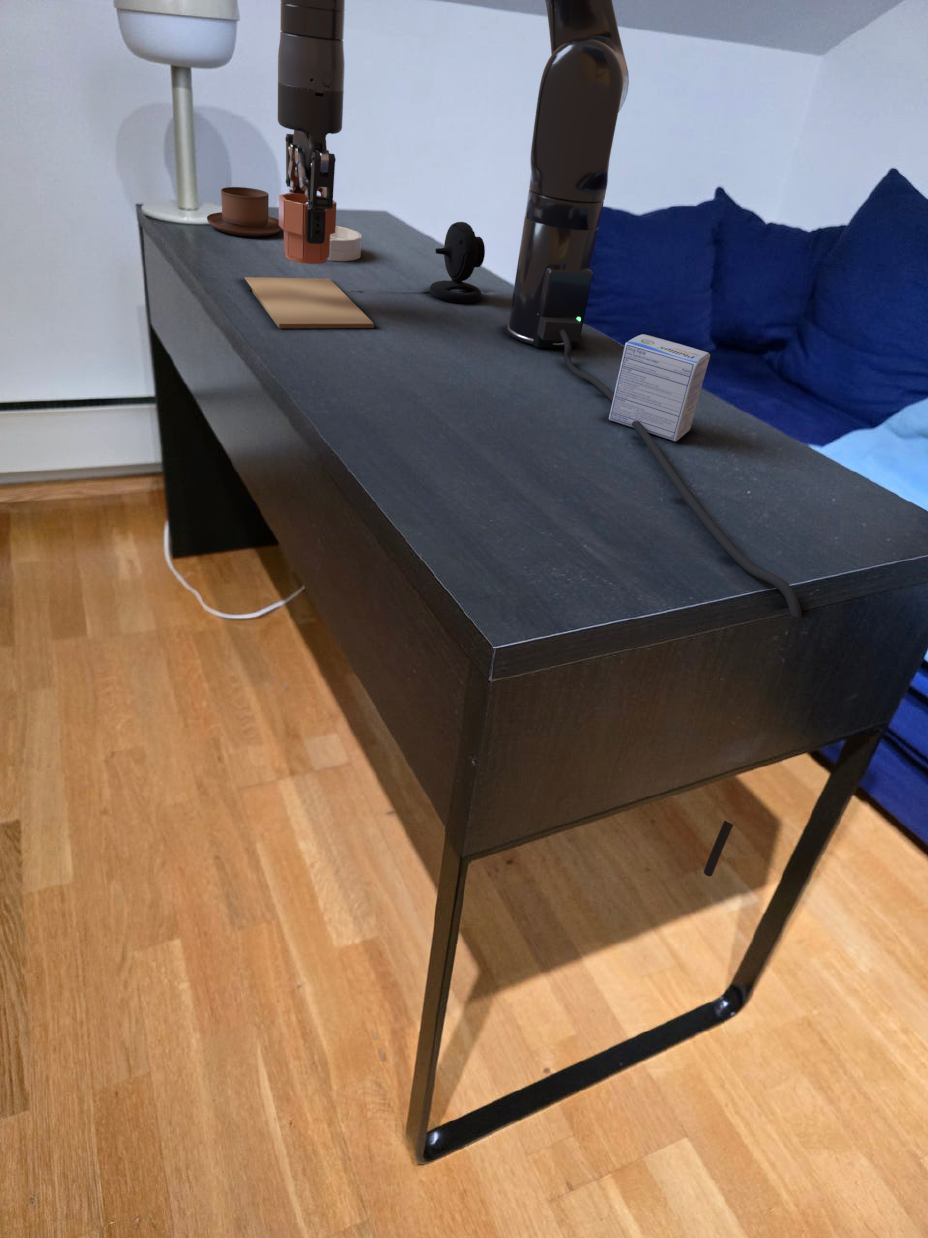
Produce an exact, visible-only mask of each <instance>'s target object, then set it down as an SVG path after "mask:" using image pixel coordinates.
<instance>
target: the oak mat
mask: <svg viewBox="0 0 928 1238" xmlns="http://www.w3.org/2000/svg"><path fill="white" fill-rule="evenodd" d="M244 279H245V281H246V282H247V284H248V285H249V286H250V291H251V292H252V294H253V295H254V296H255V297H256V299H257V301H259V304H260V305H261V306H262V307H263V309H264V310H265V311H266V313H267V314H268V316H270V318H271V319H272V320H273V322H274V324H275V325H276V326H277V327H278V329H281V330H282V329H374V328H375V323H374V322H373V321H372V320H371V318H369V317H368V316H367V315H366V314H365V312H363V311H362V309H361V308H359V306H357V305H356V304H355V302H353V301H352V300H351V298H350V297H349V296H347V295H346V293H345V292H344V291H342V290H341V289H340V287H339V286H337V284H336V283H334V281H332V279H331V278H323V277H322V278H320V277H319V278H317V277H316V278H314V277H262V276H261V277H259V276H257V277H256V276H254V277H253V276H245V277H244Z"/></svg>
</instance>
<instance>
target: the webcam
mask: <svg viewBox="0 0 928 1238" xmlns="http://www.w3.org/2000/svg"><path fill="white" fill-rule="evenodd" d="M435 254H436V255H443V261H444V266H445V269H446V272H447V274H448V276H449V277H450V279H451V280H437V281H434V282H432V283H431V285H430V286H429V293H430V294H431V296H433V297H435V298H437V299H440V300H442V301H445V302H449V303H456V304H471V303H476V302H478V301H479V300H480V299H481V298H482V292H481V289H480V288H478V287H477V286H476V285H473V284H471V283H469V282H465V281H467V280H468V279H469V278H470V277H471V276H472V274H473V272H474V270H475V268H480V267H481V266H483V263H484V261H485V255H486V246H485V243H484V239H483V238H482V236H477V235H476V233H475V231H474V229H473V227H472V226H471V225H470V224H469V223H467V222H464V221H455V222H454V223H452V224H451V225H450V226H449V227H448V229H447V231H446V235H445V239H444V245H443V247H439V248H438V247H436V248H435ZM453 290H459V291H453Z"/></svg>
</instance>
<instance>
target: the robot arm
mask: <svg viewBox="0 0 928 1238" xmlns="http://www.w3.org/2000/svg"><path fill="white" fill-rule="evenodd" d="M544 4H545V10H546V16H547V22H548V32H549V42H550V57H549V58H548V60H547V61H546V63H545V66H544V68H543V71H542V74H541V78H540V83H539V87H538V93H537V94H538V95H537V101H536V109H535V115H534V124H533V132H532V139H531V140H532V141H531V146H530V147H531V148H530V158H529V159H530V160H529V161H530V162H529V163H530V177H529V178H530V180H529V186H528V193H527V200H526V207H525V213H524V219H523V225H522V233H521V239H520V244H519V245H520V246H519V252H518V259H517V266H516V273H515V278H514V284H513V285H514V286H513V293H512V299H511V306H510V313H509V320H508V324H507V328H506V332H507V334H508V335H509V336H510V337H512V338H514V339H516V340H517V341H520V342H523V343H526V344H529V345H533V346H534V347H535V348H539V349H544V348H545V349H548V348H549V349H550V348H554V349H555V348H558V349H559V348H564V353H563V360H564V364H565V366H566V368H567V369H568V370H570V372H572V373H573V374H575V375H576V376H577V377H578V378H580V379H582V380H584V381H586V382H587V383H589V384H591V385H593V386H594V387H595V388H596V389H598V391H600V392H601V394H603V395H604V396H605V397H606V398H607V399H608V400H609V401H610V402H611V403H612V402H613V398H614V393H615V392H613V391H612V390H611V389H610V388H609V387H608V386H607V385H605V384H604V383H603V382H602V381H601V380H600V379H599V378H597V377H595V375H591V374H590V373H587V372H585V371H582V370H580V369H579V368H577V367H576V365H574V363H573V361H572V357H571V356H572V348H579V347H580V341H581V336H582V333H583V332H582V331H583V326H584V322H585V315H586V312H587V306H588V301H589V295H590V291H591V287H592V286H591V285H592V280H593V275H594V273H593V271H592V264H593V259H594V254H595V248H596V244H597V238H598V233H599V227H600V225H601V224H600V223H601V219H602V213H603V208H604V203H605V198H606V195H607V194H606V192H607V188H608V184H609V168H610V159H611V153H612V148H613V143H614V137H615V132H616V127H617V121H618V116H619V113H620V111H621V110H622V109H623V106H624V104H625V102H626V100H627V96H628V93H629V84H630V76H629V68H628V64H627V60H626V57H625V51H624V48H623V44H622V40H621V36H620V31H619V27H618V21H617V16H616V13H615V9H614V7H615V6H614V3H613V0H544ZM345 8H346V0H280V16H279V17H280V19H279V21H280V25H279V26H280V29H279V30H280V31H279V32H280V33H279V44H278V50H277V53H278V54H277V122H278V125H279V126H281V127H282V128H284V129H288V130H292V131H293V133H286V135H285V137H284V138H285V140H284V141H285V185H286V187H287V188H288V193H305V200H306V208H307V210H306V241H307V242H308V243H310V244H322V243H324V240H325V211H328V209H332V206H333V200H334V189H335V188H334V187H335V171H336V161H337V159H336V155H335V153H331V152H330V150H329V149H328V148H327V135H329V134H331V135H334V134H339V133H340V132H341V131H342V129H343V117H344V116H343V115H344V114H343V113H344V93H345V90H344V89H345V70H346V69H345V67H346V65H345V63H346V62H345V52H344V51H345V49H344V47H345V46H344V39H345V16H346V15H345V14H346V13H345V11H346V9H345ZM318 192H319V194H320V196H321V197H317V195H318ZM632 426H633V427H634V428H633V429H634V430H635V431H636V433H637V434H638V435H639V437H640V438H641V440H643V442H644V443H645V445H646V446H647V447H648V450H650V452H651V453H652V455H653V456H654V458H655V460H656V461H657V462H658V464H659V466H660V467H661V468H662V470H663V471H664V474H665V475H666V476H667V477H668V479H669V480H670V482H671V483H672V484H673V486H674V487H675V489H676V490H677V492H678V493H679V494H680V496H681V498H682V499H683V500H684V502H685V503H686V504H687V506H688V507H689V508H690V510H691V511H692V512H693V514H694V515H695V517H696V518H697V519H698V520H699V521H700V523H701V524H702V525H703V526H704V528H705V529H706V530H707V531H708V532H709V534H710V535H711V536H712V537H713V539H714V540H715V541H716V542H717V544H718V545H719V546H720V547H721V549H723V550H724V552H725V553H726V554H727V555H728V556H729V557H730V558H731V559H732V560H733V561H734V562H735V563H736V564H737V565H738V566H739V567H740V568H741V569H742V570H743V571H745V572H746V573H747V574H749V575H750V576H751V577H754V578H756V579H758V580H760V581H761V582H764V583H765V584H766V583H767V584H769V585H770V586H772V587H773V588H775V589H776V590H777V591H779V592H780V593H781V595H782V596H783V597H784V598H785V601H786V603H787V607H788V609H789V610H788V611H789V614H790V615H791V616H793V617H795V618H798V619H801V618H802V617H803V613H802V608H801V605H800V602H799V598H798V596H797V594H796V592H795V591H794V589H793V588H792V586H791V585H790V584H789V583H788V582H787V581H786V580H785V579H783V578H781V577H780V576H779V575H776V574H774V573H773V572H770V571H768V570H765V569H763V568H762V567H759V566H758V565H756V564H755V563H753V562H752V561H751V560H750V559H749V558H748V557H746V555H744V554H743V553H742V552H741V551H740V550H739V549H738V548H737V547H736V546H735V545H734V543H732V541H731V540H730V539H729V538H728V537H727V536H726V535H725V533H724V532H723V531H722V530H721V529H720V528H719V527H718V525H717V524H716V523H715V522H714V521H713V519H712V518H711V516H709V515H708V513H707V512H706V511H705V509H704V508H703V507H702V506H701V505H700V504H699V502H698V501H697V500H696V498H695V497H694V496H693V494H692V493H691V492H690V490H689V488H688V487H687V486H686V485H685V483H684V482H683V481H682V479H681V477H680V476H679V475H678V474H677V472H676V471H675V469H674V467H673V466H672V465H671V463H670V462H669V461H668V459H667V458H666V456H665V455H664V453H663V452H662V450H661V449H660V447H659V446H658V445H657V443H656V441H654V439H653V437H652V436H651V435H650V433H648V432H647V431H646V430H645V428H644V427H643V426H642V424H641V423H640V422H638V421H633V422H632ZM733 827H734V824H733V823H731V822H728V821H727V820H724V821H723V823H722V825H721V827H720V830H719V831H718V834H717V837H716V839H715V841H714V844H713V846H712V849H711V851H710V854H709V856H708V858H707V862H706V864H705V866H704V869H703V874H704V876H706V877H712V876H713V875H714V872H715V870H716V867H717V864H718V862H719V859H720V857H721V854H722V852H723V850H724V848H725V846H726V842H727V841H728V838H729V836H730V834H731V831H732V829H733Z"/></svg>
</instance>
